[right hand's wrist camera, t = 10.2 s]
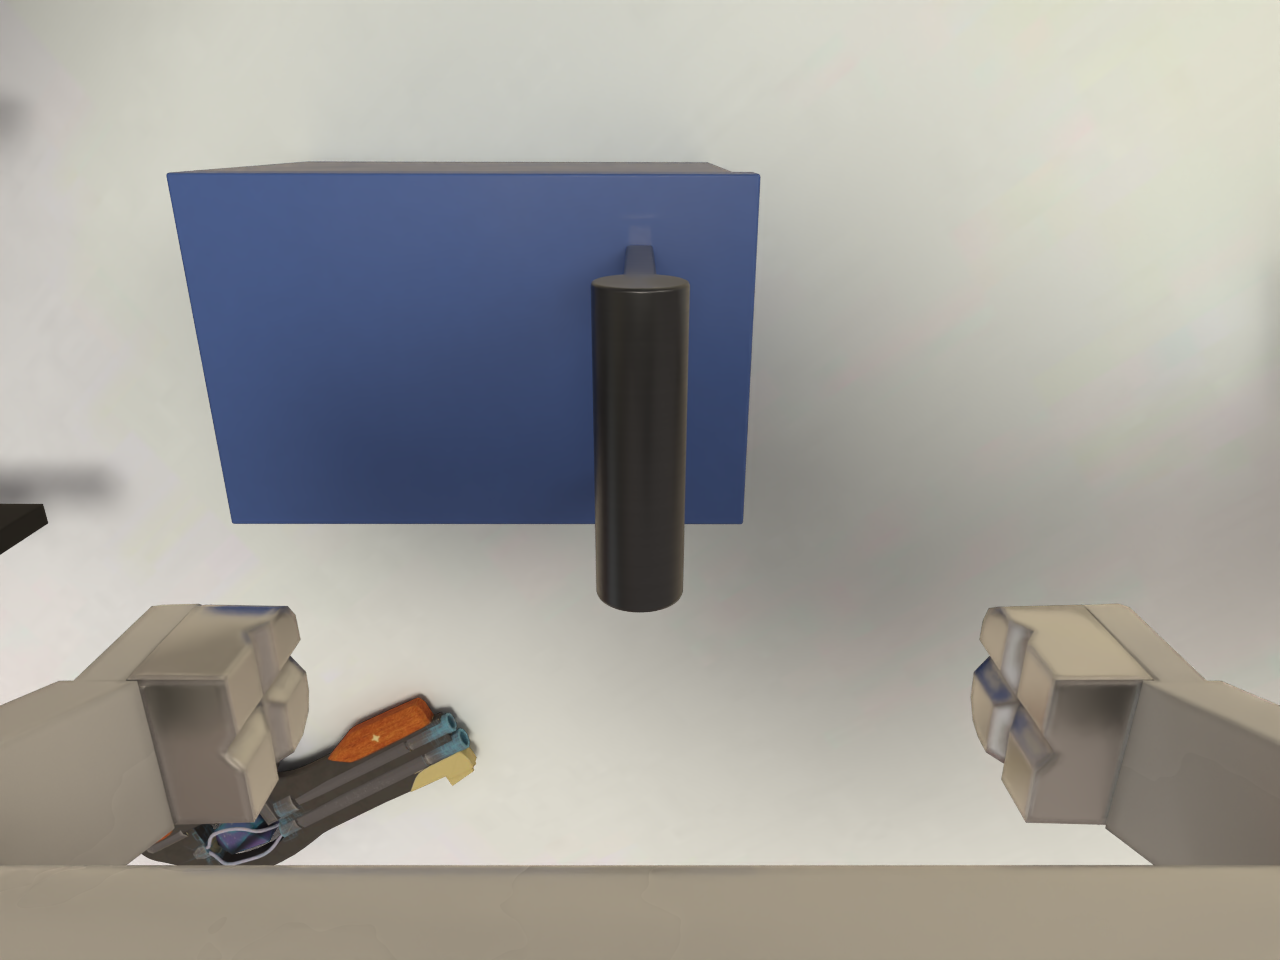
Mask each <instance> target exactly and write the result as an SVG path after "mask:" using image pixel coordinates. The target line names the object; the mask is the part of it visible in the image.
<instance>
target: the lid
mask: <svg viewBox="0 0 1280 960" xmlns="http://www.w3.org/2000/svg"><path fill="white" fill-rule="evenodd" d="M167 181H168V186H169V191H170V197H171V202H172V207H173V213H174V218H175V223H176V228H177V234H178V239H179V244H180V250H181V255H182V260H183V265H184V271H185V276H186V281H187V286H188V292H189V297H190V302H191V308H192V313H193V318H194V323H195V329H196V334H197V339H198V345H199V350H200V355H201V360H202V366H203V371H204V376H205V382H206V387H207V392H208V397H209V403H210V408H211V413H212V419H213V424H214V429H215V434H216V440H217V445H218V450H219V455H220V461H221V466H222V471H223V477H224V482H225V487H226V492H227V498H228V503H229V508H230V514H231V519H232V523H234V524H595V539H596V590H597V594H598V596H599V598H600V599H601V600H602V601H603V602H604V603H605V604H607V605H608V606H610V607H613V608H615V609H619V610H622V611H628V612H652V611H657V610H661V609H664V608H667V607H669V606H671V605H673V604H674V603H676V602H677V601H678V600H679V599H680V597H681V595H682V592H683V564H684V524H742V523H743V512H744V492H745V472H746V452H747V432H748V412H749V393H750V373H751V353H752V333H753V313H754V294H755V274H756V254H757V234H758V214H759V194H760V175H759V174H757V173H754V172H458V171H184V172H171V173H167Z"/></svg>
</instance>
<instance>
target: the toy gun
mask: <svg viewBox="0 0 1280 960" xmlns="http://www.w3.org/2000/svg"><path fill="white" fill-rule="evenodd" d="M456 729H457V724H456V721H455V718H454V717H453V716H452V714H451V713H446V714H444V715H443V713H442V712H440V713H438V714H436V715H434V714H433V713H432V711H431V710H430V708H429V707H428V705H427V704H426V702H425V701H424V700H422V699H421V698H415V699H413V700H411V701H409V702H406V703H404V704H402V705H399V706H397V707H395V708H393V709H390V710H388V711H386V712H384V713H382V714H380V715H377V716H375V717H373V718H371V719H369V720H367V721H364V722H362V723H360V724H358V725H356V726H354V727H353V728H352V729H350V730H349V732H348V733H347V734H346V735H345V737H344V738H343V739H342V740H341V742H340V743H339V744H338V745H337V747H336V748H335V749H334V750H333V752H332V753H330V754H328V755H326V756H324V757H322V758H320V759H318V760H316V761H314V762H312V763H310V764H308V765H306V766H303V767H300V768H298V769H294V770H291V771H285V772H278V778H279V780H278V782H277V783H276V785H275V787H274V789H273V790H272V792H271V794H270V796H269V797H268V799H267V801H266V803H265V804H264V806H263V808H262V810H261V811H260V813H259V815H258V817H257V818H256V820H255V822H253V823H219V825H218V827H217V828H216V829H215V830H214V829H213V827H212V826H211V824H181V825H174V829H173V830H172V831H171V832H169V833H168V834H167V835H165V836H164V837H163V838H161V839H160V840H159V841H157V842H156V843H155V844H154V845H152V846H151V847H150V848H148V849H147V850H146V851H144V852H143V853H142V854H143V855H144V856H146V857H147V858H149V859H152V860H155V861H159V862H165V863H169V864H174V865H276V864H278V863H280V862H282V861H284V860H286V859H287V858H289V857H291V856H293V855H295V854H296V853H297V852H299V851H300V850H302V849H303V848H305V847H306V846H307V845H309V844H310V843H311V842H313V841H314V840H315V839H316V838H318V837H319V836H320V835H321V834H323V833H324V832H326V831H328V830H330V829H331V828H334V827H336V826H338V825H340V824H342V823H344V822H346V821H348V820H350V819H352V818H354V817H356V816H358V815H360V814H362V813H364V812H366V811H369V810H371V809H373V808H375V807H377V806H379V805H381V804H383V803H385V802H387V801H389V800H392V799H394V798H396V797H398V796H401V795H403V794H405V793H408V792H410V791H411V792H412V791H414V790H416V789H419V788H421V787H423V786H425V785H427V784H430V783H432V782H434V781H436V780H438V779H441V778H443V777H445V776H446V777H447V779H448V780H449V782H450V783H451V784H452V786H453V785H454V784H456V783H457V782H459V781H460V780H461V779H463V778H464V777H466V776H467V775H469V774H470V773H471V772H473V771H474V768H473V767H474V765H476V762H475V761H476V758H477V757H476V756H475V754H474V753H473V751H472V750H471V749H470V748H469V746H470V741H469V737H468V735H467V733H466V732H465V730H464V729H461V728H459V729H457V730H456ZM279 763H280V761H279V762H278V763H276V767H277V769H278V766H279ZM277 827H279V830H280V833H281V835H280V836H279V837H278V838H277V839H276V840H274V841H272V842H270V843H268V844H266V845H264V846H262V847H259V848H257V849H254V850H251V851H248V852H244V853H238V852H241V851H244V850H247V849H250V848H252V847H255V846H258V845H261V844H264V843H267V842H269V841H270V839H271V838H272V836H273V834H274V832H275V831H276V829H277ZM235 853H237V854H235Z"/></svg>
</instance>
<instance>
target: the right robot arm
mask: <svg viewBox="0 0 1280 960" xmlns="http://www.w3.org/2000/svg"><path fill="white" fill-rule="evenodd" d="M300 640H301V639H300V634H299V630H298V625H297V620H296V615H295V614H294V613H293V612H292V611H291V609H290V608H289V607H288V606H249V605H200V604H171V605H157V606H152V607H150V608H149V609H148V610H147V611H146V612H145V613H144V614H143V615H142V616H141V617H140V618H139V619H138V620H137V621H136V622H135V623H134V624H133V625H132V626H130V627H129V628H128V629H127V630H126V631H125V632H124V633H123V634H122V635H121V636H120V637H119V638H118V639H117V640H116V641H115V642H114V643H113V644H112V645H111V646H109V647H108V648H107V649H106V650H105V651H104V652H103V653H102V654H101V655H100V656H99V657H98V658H97V659H96V660H95V661H94V662H93V663H92V664H91V665H89V666H88V667H87V668H86V669H85V670H84V671H83V672H82V673H81V674H80V675H79V676H78V677H77V678H76V679H75V680H74V681H58V682H55V683H53V684H50V685H48V686H46V687H43V688H41V689H38V690H36V691H34V692H31V693H29V694H27V695H24V696H22V697H19V698H17V699H15V700H12V701H10V702H8V703H5V704H3V705H0V960H1280V706H1279V705H1277V704H1275V703H1272V702H1270V701H1268V700H1265V699H1263V698H1260V697H1258V696H1256V695H1253V694H1251V693H1249V692H1246V691H1244V690H1241V689H1239V688H1237V687H1234V686H1232V685H1230V684H1227V683H1225V682H1222V681H1206V680H1205V679H1204V678H1203V677H1202V676H1201V675H1200V674H1199V673H1198V672H1197V671H1196V670H1195V669H1194V668H1193V667H1192V666H1191V665H1190V664H1189V663H1187V662H1186V661H1185V660H1184V659H1183V658H1182V657H1181V656H1180V655H1179V654H1178V653H1177V652H1176V651H1175V650H1174V649H1173V648H1172V647H1171V646H1170V645H1169V644H1168V643H1167V642H1165V641H1164V640H1163V639H1162V638H1161V637H1160V636H1159V635H1158V634H1157V633H1156V632H1155V631H1154V630H1153V629H1152V628H1151V627H1150V626H1149V625H1148V624H1147V623H1146V622H1144V621H1143V620H1142V619H1141V618H1140V617H1139V616H1138V615H1137V614H1136V613H1135V612H1134V611H1133V610H1132V609H1131V608H1130V607H1127V606H1124V605H1121V604H1096V605H1052V606H1010V607H994V608H989V609H988V611H987V613H986V615H985V617H984V619H983V623H982V628H981V634H980V639H979V640H980V641H981V643H982V644H983V646H984V647H985V649H986V651H987V652H988V654H989V655H990V656H989V657H988V658H987V659H986V660H985V661H984V662H983V663H982V664H981V665H980V666H979V667H978V668H977V669H976V671H975V672H974V675H973V683H972V690H971V707H972V718H973V723H974V726H975V729H976V732H977V736H978V738H979V740H980V742H981V744H982V746H983V747H984V749H985V751H986V752H987V753H988V754H990V755H991V756H993V757H994V758H996V759H998V760H999V761H1001V762H1002V763H1004V767H1003V772H1002V778H1001V780H1002V782H1003V783H1004V785H1005V787H1006V789H1007V790H1008V792H1009V794H1010V796H1011V797H1012V799H1013V801H1014V803H1015V804H1016V806H1017V808H1018V810H1019V811H1020V813H1021V815H1022V817H1023V818H1024V820H1025V822H1026V823H1061V824H1098V825H1106V827H1105V828H1106V829H1107V830H1108V831H1110V832H1111V833H1112V834H1114V835H1115V836H1116V837H1118V838H1119V839H1120V840H1122V841H1123V842H1124V843H1125V844H1127V845H1128V846H1129V847H1131V848H1132V849H1133V850H1135V851H1136V852H1137V853H1139V854H1140V855H1141V856H1143V857H1144V858H1145V859H1146V860H1148V861H1149V862H1150V863H1152V864H1153V865H127V864H129V863H130V862H131V861H133V860H134V859H135V858H136V857H138V856H139V855H140V854H142V853H143V852H144V851H146V850H147V849H148V848H150V847H151V846H152V845H154V844H155V843H156V842H157V841H159V840H160V839H161V838H163V837H164V836H165V835H167V834H168V833H169V832H171V831H172V830H173V829H174V825H181V824H217V823H253V822H255V820H256V818H257V817H258V815H259V813H260V811H261V810H262V808H263V806H264V804H265V803H266V801H267V799H268V797H269V796H270V794H271V792H272V790H273V789H274V787H275V785H276V783H277V782H278V780H279V778H278V772H277V767H276V763H278V762H279V761H281V760H282V759H284V758H285V757H287V756H289V755H290V754H292V753H293V752H294V751H295V749H296V747H297V745H298V744H299V742H300V740H301V738H302V736H303V733H304V729H305V725H306V720H307V716H308V712H309V688H308V681H307V675H306V672H305V671H304V670H303V668H302V667H301V666H300V665H299V664H298V663H297V662H296V661H295V660H294V659H293V658H292V657H291V656H290V655H291V654H292V652H293V651H294V649H295V647H296V646H297V644H298V643H299V641H300Z"/></svg>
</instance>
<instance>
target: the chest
mask: <svg viewBox="0 0 1280 960" xmlns="http://www.w3.org/2000/svg"><path fill="white" fill-rule="evenodd" d="M196 171H458V172H731V171H728V170H726V169H723V168H720V167H718V166H715V165H713V164H710V163H708V162H297V163H284V164H272V165H259V166H247V167H234V168H221V169H209V170H196Z"/></svg>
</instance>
